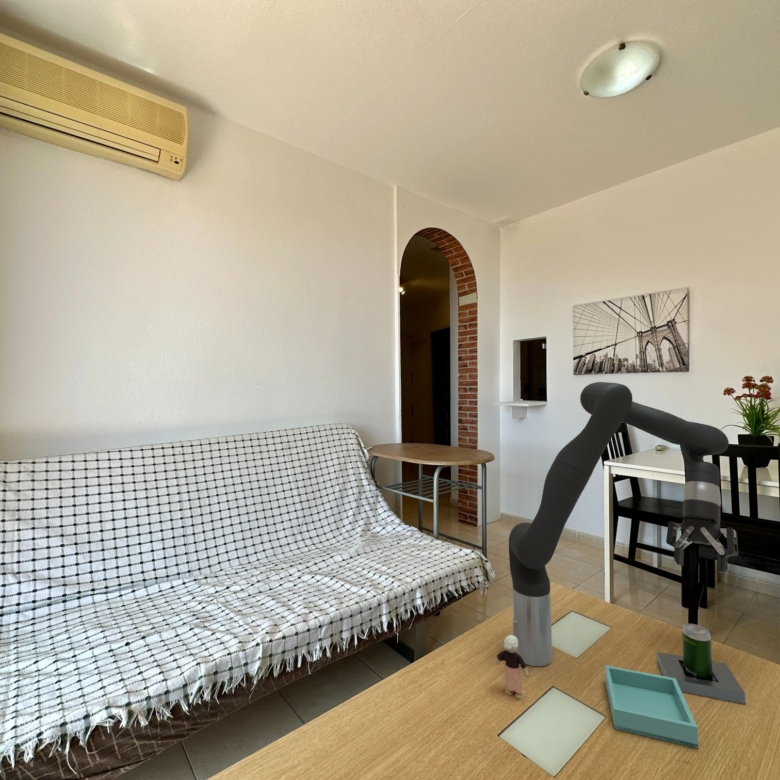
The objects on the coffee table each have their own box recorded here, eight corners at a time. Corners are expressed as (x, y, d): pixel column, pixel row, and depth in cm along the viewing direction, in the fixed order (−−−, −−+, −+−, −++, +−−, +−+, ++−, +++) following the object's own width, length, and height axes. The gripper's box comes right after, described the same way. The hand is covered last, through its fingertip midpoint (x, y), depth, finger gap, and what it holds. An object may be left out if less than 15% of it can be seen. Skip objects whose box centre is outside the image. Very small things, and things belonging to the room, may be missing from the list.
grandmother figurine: (531, 691, 93) (529, 635, 93) (529, 702, 90) (527, 644, 90) (497, 682, 97) (495, 628, 97) (493, 693, 93) (492, 637, 93)
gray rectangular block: (668, 689, 93) (668, 678, 93) (657, 661, 102) (656, 651, 102) (745, 704, 88) (744, 692, 88) (726, 674, 97) (725, 663, 97)
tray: (614, 729, 82) (613, 709, 82) (605, 682, 95) (604, 665, 96) (698, 748, 77) (697, 727, 77) (676, 696, 90) (675, 678, 91)
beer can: (707, 693, 91) (705, 639, 91) (679, 679, 96) (677, 628, 96) (716, 683, 94) (714, 631, 94) (689, 670, 99) (687, 620, 99)
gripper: (663, 496, 109) (659, 559, 103) (729, 500, 97) (729, 571, 91) (677, 504, 112) (674, 566, 106) (742, 509, 100) (743, 579, 95)
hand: (699, 568), depth 99 cm, fingers open, 8 cm apart
